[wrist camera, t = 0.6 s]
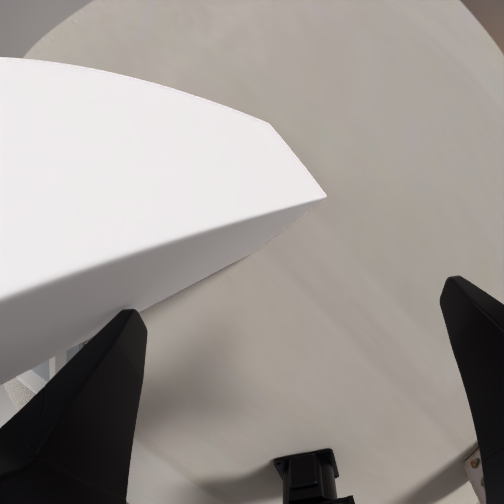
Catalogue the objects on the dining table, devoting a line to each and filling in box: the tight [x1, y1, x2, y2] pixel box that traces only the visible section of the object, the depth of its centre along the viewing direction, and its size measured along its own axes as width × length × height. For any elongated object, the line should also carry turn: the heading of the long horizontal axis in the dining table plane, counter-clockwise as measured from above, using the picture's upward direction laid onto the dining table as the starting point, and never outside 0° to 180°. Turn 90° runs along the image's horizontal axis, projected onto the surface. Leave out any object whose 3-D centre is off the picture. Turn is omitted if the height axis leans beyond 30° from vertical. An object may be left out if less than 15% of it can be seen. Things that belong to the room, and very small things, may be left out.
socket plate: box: [15, 342, 83, 394], centre depth 24 cm, size 12×12×3 cm
